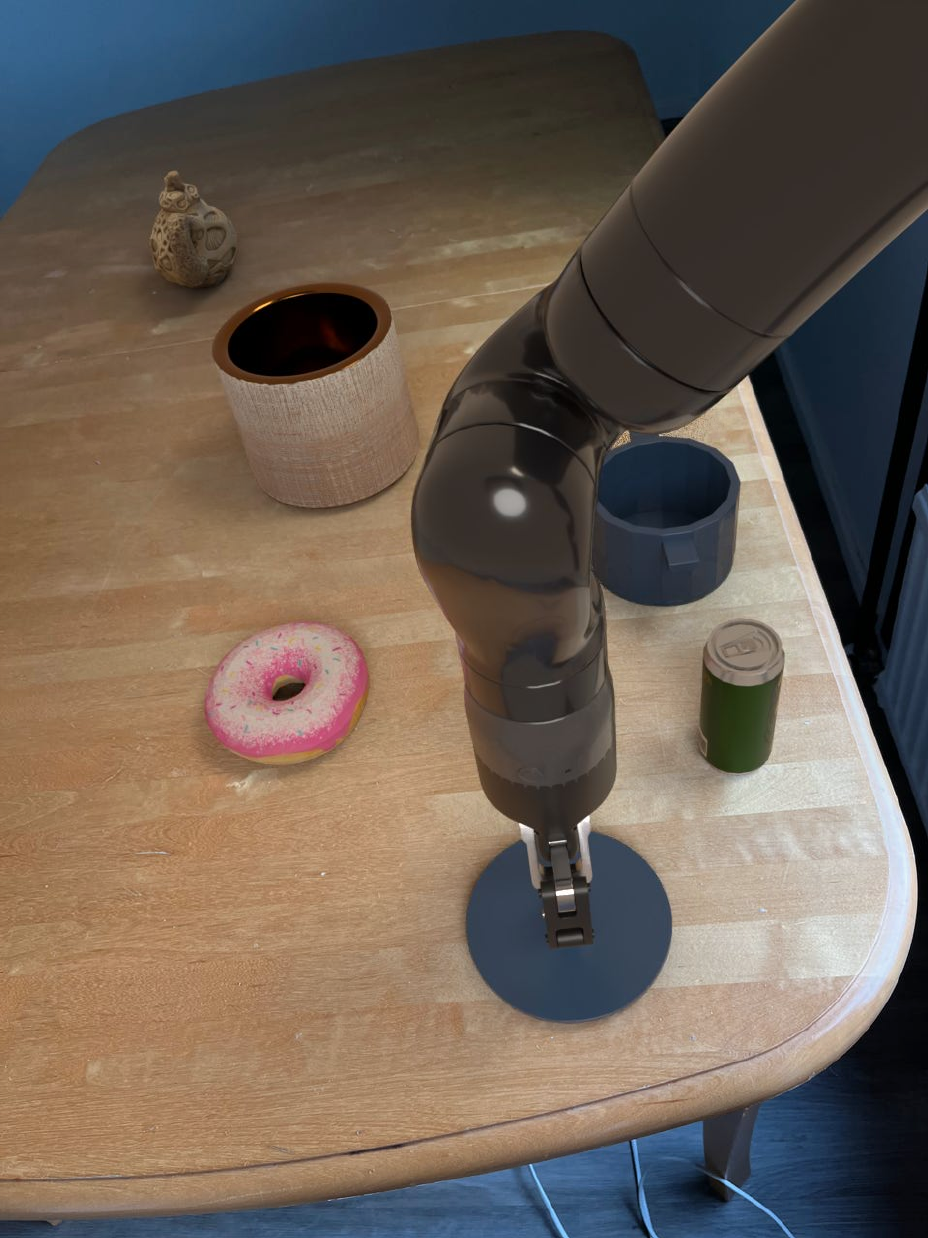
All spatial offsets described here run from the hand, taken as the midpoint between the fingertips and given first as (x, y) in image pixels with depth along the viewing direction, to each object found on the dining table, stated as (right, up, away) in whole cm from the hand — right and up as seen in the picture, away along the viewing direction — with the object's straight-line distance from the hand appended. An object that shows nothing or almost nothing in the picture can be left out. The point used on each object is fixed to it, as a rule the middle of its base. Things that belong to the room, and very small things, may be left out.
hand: (560, 874), depth 64 cm
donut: (-20, +8, +21) cm, 30 cm away
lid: (+1, -4, +5) cm, 6 cm away
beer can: (+14, +6, +13) cm, 20 cm away
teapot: (-41, +61, +74) cm, 104 cm away
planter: (-19, +33, +44) cm, 58 cm away
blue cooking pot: (+12, +22, +27) cm, 37 cm away
